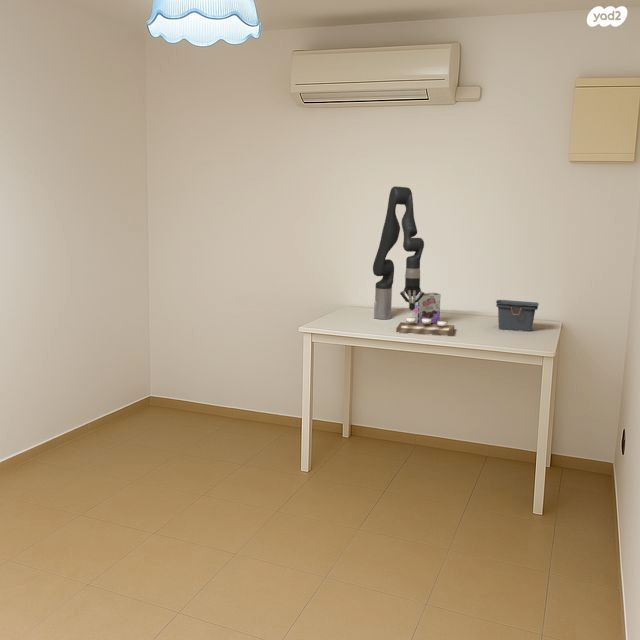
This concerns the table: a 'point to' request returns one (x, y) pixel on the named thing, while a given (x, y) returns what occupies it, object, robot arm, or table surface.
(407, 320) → the left button
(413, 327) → the button board
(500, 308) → the storage bin
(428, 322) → the middle button
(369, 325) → the table surface
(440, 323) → the right button
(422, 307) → the candy box
